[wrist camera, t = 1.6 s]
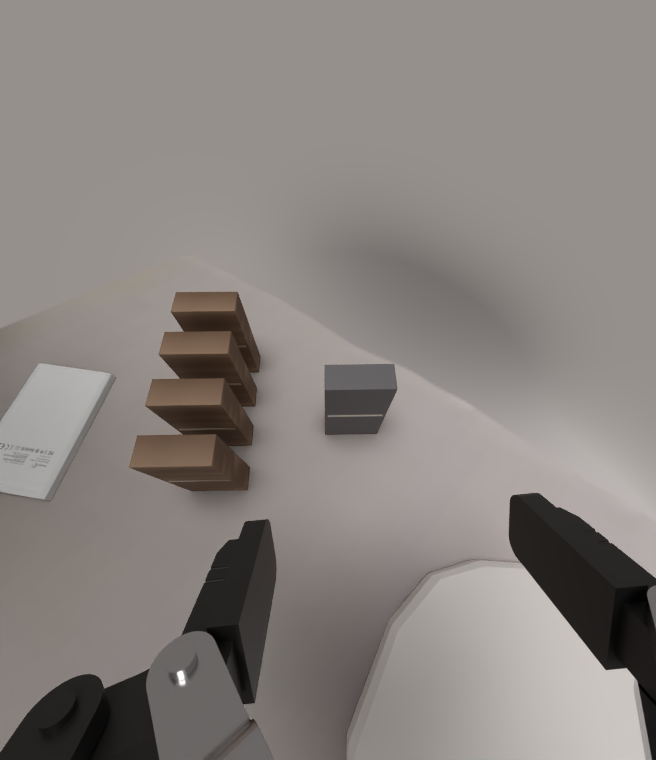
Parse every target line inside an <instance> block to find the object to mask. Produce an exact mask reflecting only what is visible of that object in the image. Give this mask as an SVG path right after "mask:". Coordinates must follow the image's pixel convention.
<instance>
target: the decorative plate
mask: <svg viewBox="0 0 656 760" xmlns="http://www.w3.org/2000/svg"><path fill="white" fill-rule="evenodd" d="M634 679H635V677H634V676H633V675H632V674H631V673H630V672H629V670H628V669H627V668H624V669H613V670H605V669H604V667H603V666H602V665H601V664H600V662H599V661H598V660H597V658H596V657H595V656H594V655H593V653H592V652H591V651H590V650H589V648H588V647H587V646H586V645H585V643H584V642H583V641H582V639H581V638H580V637H579V636H578V634H577V633H576V632H575V631H574V629H573V628H572V627H571V626H570V624H569V623H568V622H567V620H566V619H565V618H564V617H563V615H562V614H561V613H560V612H559V610H558V609H557V608H556V607H555V605H554V604H553V603H552V601H551V600H550V599H549V598H548V596H547V595H546V594H545V593H544V591H543V590H542V589H541V588H540V586H539V585H538V584H537V582H536V581H535V580H534V579H533V577H532V576H531V575H530V574H529V572H528V571H527V570H526V569H525V567H524V566H523V565H522V563H516V562H502V561H487V560H469V561H466V562H462V563H459V564H456V565H453V566H450V567H446V568H443V569H440V570H437V571H434V572H430V573H427V575H426V576H425V577H424V578H423V579H422V581H421V582H420V583H419V584H418V585H417V587H416V588H415V589H414V590H413V592H412V593H411V594H410V595H409V596H408V598H407V599H406V600H405V601H404V602H403V604H402V605H401V606H400V607H399V608H398V610H397V611H396V612H395V613H394V614H393V616H392V617H391V618H390V619H389V621H388V623H387V626H386V629H385V632H384V634H383V637H382V640H381V642H380V645H379V648H378V650H377V653H376V656H375V659H374V661H373V664H372V667H371V669H370V672H369V675H368V677H367V680H366V683H365V686H364V688H363V691H362V694H361V696H360V699H359V702H358V704H357V707H356V710H355V713H354V715H353V718H352V721H351V723H350V726H349V729H348V731H347V753H346V760H646V759H645V753H644V748H643V742H642V736H641V730H640V724H639V718H638V712H637V707H636V701H635V695H634Z"/></svg>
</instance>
